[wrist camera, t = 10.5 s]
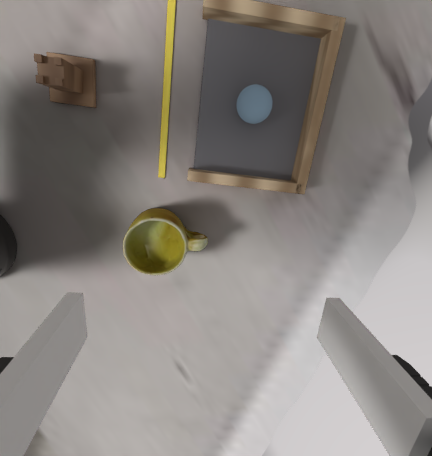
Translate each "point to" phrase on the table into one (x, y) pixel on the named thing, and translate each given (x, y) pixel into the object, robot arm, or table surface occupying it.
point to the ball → (254, 104)
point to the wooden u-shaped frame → (330, 41)
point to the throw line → (166, 85)
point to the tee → (68, 78)
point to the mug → (159, 242)
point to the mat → (241, 78)
